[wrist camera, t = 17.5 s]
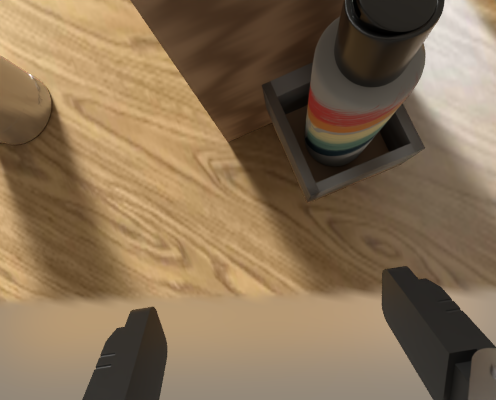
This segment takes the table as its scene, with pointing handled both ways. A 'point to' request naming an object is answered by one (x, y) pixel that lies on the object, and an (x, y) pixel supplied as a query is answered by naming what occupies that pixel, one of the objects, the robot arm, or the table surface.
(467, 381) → the robot arm
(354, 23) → the lotion bottle
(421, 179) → the table surface
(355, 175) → the bracket
